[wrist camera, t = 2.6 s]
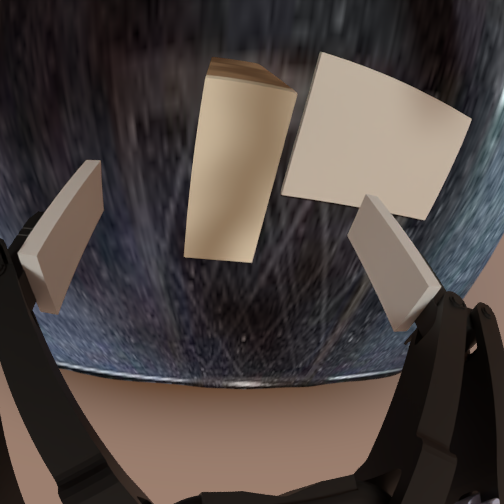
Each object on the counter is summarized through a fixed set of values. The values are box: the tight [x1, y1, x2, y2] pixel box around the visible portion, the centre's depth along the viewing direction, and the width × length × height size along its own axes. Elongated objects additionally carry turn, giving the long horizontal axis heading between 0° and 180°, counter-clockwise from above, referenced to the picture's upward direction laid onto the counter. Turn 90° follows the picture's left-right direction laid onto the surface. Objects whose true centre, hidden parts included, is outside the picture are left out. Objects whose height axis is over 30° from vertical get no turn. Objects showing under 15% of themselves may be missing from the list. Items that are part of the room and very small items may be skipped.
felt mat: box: [281, 52, 472, 220], centre depth 28 cm, size 20×15×1 cm
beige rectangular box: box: [184, 57, 298, 263], centre depth 20 cm, size 4×10×14 cm, turn 168°
